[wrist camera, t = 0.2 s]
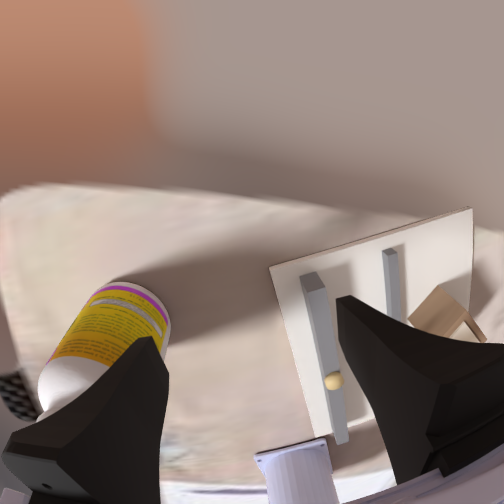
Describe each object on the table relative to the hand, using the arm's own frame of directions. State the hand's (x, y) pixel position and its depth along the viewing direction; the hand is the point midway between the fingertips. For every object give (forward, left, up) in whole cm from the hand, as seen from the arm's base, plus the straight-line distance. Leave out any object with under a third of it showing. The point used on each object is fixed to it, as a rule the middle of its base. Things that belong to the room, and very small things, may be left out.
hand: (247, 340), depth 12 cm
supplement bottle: (-3, +9, -10) cm, 14 cm away
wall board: (-12, -10, -10) cm, 18 cm away
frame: (-11, -15, -9) cm, 20 cm away
